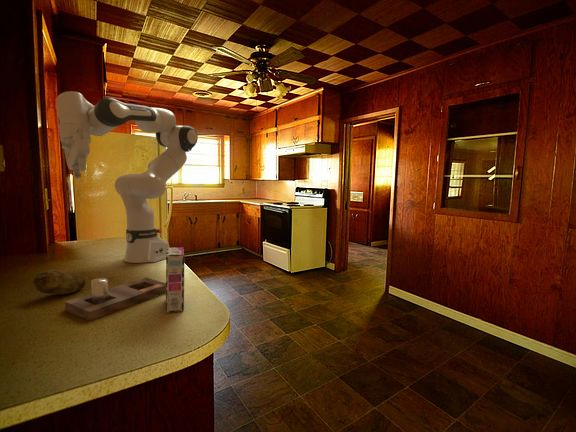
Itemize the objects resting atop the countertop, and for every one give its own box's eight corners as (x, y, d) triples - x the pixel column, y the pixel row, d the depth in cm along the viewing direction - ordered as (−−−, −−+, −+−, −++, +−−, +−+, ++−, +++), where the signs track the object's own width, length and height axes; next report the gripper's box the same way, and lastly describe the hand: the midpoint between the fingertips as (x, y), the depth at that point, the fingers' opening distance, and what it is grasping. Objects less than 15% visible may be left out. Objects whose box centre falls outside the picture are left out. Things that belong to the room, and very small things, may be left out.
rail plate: (146, 284, 103) (146, 277, 103) (170, 291, 98) (169, 283, 97) (65, 310, 81) (64, 300, 81) (90, 320, 76) (89, 310, 75)
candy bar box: (184, 311, 83) (184, 254, 81) (165, 313, 81) (165, 255, 79) (184, 296, 93) (183, 246, 92) (166, 298, 91) (166, 246, 90)
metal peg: (103, 303, 86) (102, 277, 85) (111, 306, 84) (110, 279, 84) (88, 308, 83) (87, 280, 82) (97, 311, 81) (96, 283, 80)
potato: (87, 293, 93) (86, 269, 92) (33, 302, 85) (32, 276, 84) (85, 286, 100) (84, 263, 99) (35, 294, 92) (33, 269, 91)
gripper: (92, 126, 99) (97, 165, 98) (81, 147, 113) (85, 182, 112) (69, 123, 94) (74, 164, 93) (60, 146, 109) (65, 182, 108)
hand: (80, 174), depth 103 cm, fingers open, 8 cm apart
